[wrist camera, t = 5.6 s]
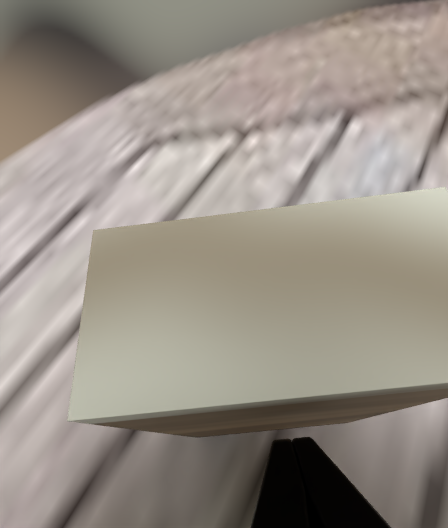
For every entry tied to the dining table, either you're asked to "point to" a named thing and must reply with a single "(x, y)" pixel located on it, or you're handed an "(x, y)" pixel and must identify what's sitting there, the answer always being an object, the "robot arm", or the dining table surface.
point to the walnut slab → (266, 317)
